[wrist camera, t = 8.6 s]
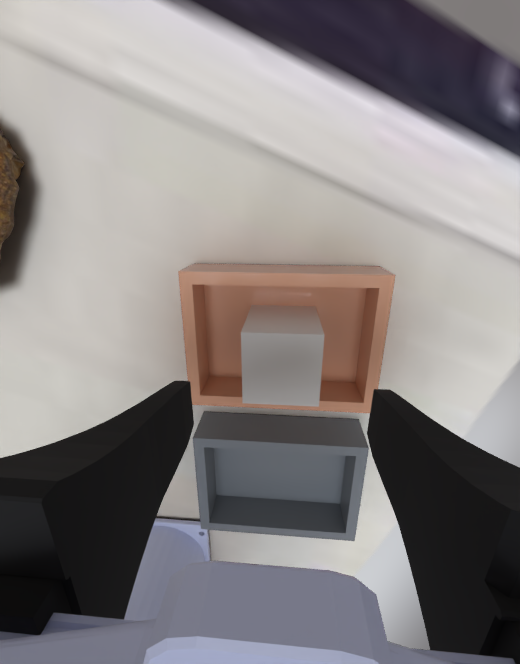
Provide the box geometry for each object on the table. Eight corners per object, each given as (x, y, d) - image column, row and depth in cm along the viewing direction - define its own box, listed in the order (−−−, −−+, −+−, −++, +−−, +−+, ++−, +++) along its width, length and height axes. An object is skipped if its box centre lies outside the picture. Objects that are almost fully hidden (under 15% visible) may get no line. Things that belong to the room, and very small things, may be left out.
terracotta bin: (362, 388, 22) (373, 413, 19) (201, 381, 23) (189, 404, 20) (379, 266, 19) (395, 274, 16) (193, 263, 20) (178, 271, 17)
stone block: (311, 364, 21) (319, 406, 16) (252, 361, 21) (242, 403, 17) (315, 306, 20) (324, 334, 15) (251, 304, 20) (240, 332, 15)
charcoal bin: (346, 505, 26) (354, 541, 23) (210, 495, 26) (200, 528, 24) (358, 419, 23) (368, 448, 20) (204, 411, 24) (193, 438, 21)
